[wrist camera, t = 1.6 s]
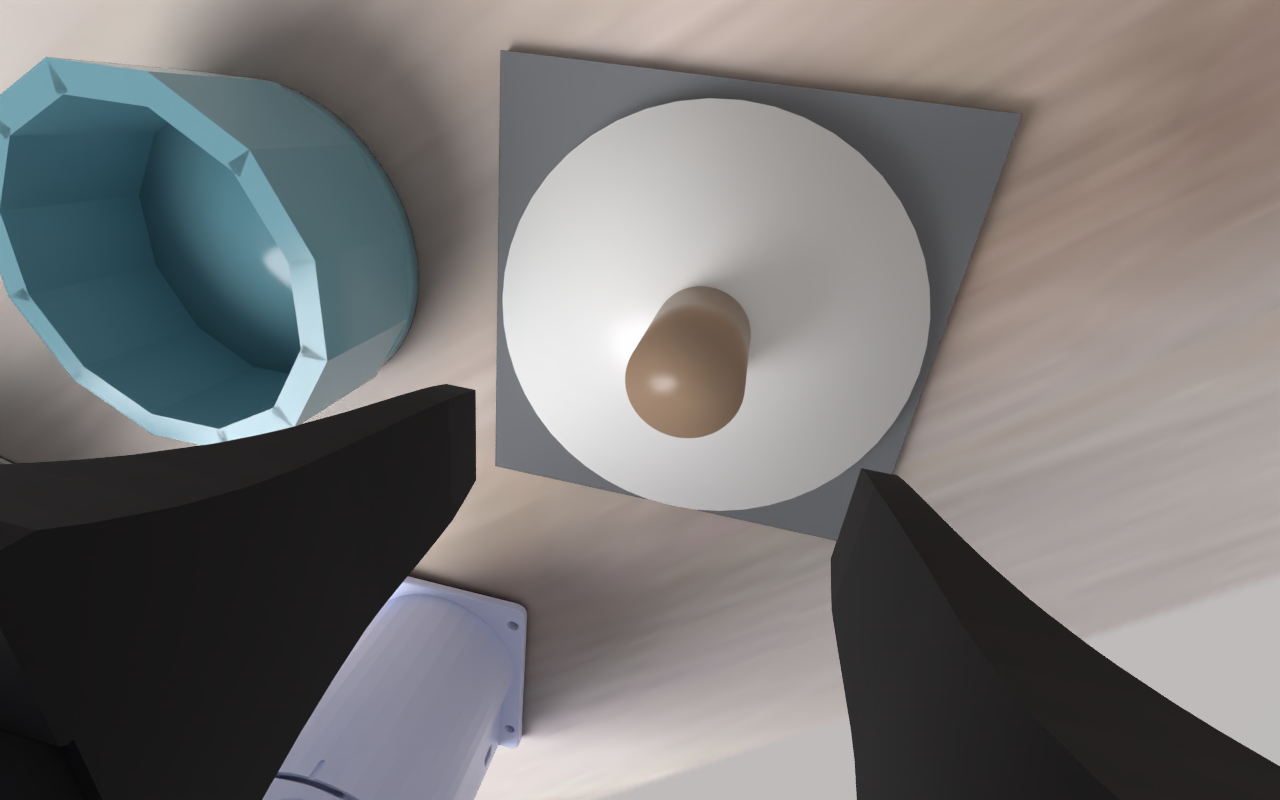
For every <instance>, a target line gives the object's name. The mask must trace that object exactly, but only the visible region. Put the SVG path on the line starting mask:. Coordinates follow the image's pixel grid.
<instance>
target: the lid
mask: <svg viewBox="0 0 1280 800" xmlns="http://www.w3.org/2000/svg"><path fill="white" fill-rule="evenodd" d="M502 300H503V321H504V329H505V335H506V340H507V346H508V350H509V354H510V357H511V360H512V363H513V367H514V370H515V373H516V375H517V377H518V380H519V382H520V384H521V386H522V389H523V391H524V393H525V395H526V397H527V399H528V400H529V402H530V404H531V405H532V407H533V409H534V410H535V412H536V414H537V415H538V417H539V418H540V419H541V421H542V422H543V423H544V425H545V426H546V427H547V429H548V430H549V431H550V433H551V434H552V435H553V436H554V437H555V438H556V439H557V440H558V441H559V442H560V443H561V444H562V446H563V447H564V448H565V449H566V450H567V451H568V452H569V453H571V454H572V455H573V456H574V457H575V458H577V459H578V460H579V461H580V462H581V463H582V464H584V465H585V466H586V467H588V468H589V469H590V470H592V471H593V472H595V473H596V474H598V475H599V476H601V477H602V478H604V479H605V480H607V481H609V482H611V483H613V484H615V485H617V486H619V487H620V488H622V489H624V490H626V491H629V492H631V493H634V494H636V495H639V496H641V497H644V498H646V499H649V500H653V501H656V502H660V503H663V504H667V505H671V506H676V507H682V508H688V509H694V510H711V511H727V510H744V509H750V508H756V507H762V506H768V505H772V504H775V503H779V502H782V501H786V500H789V499H792V498H795V497H797V496H800V495H802V494H804V493H807V492H809V491H811V490H814V489H816V488H818V487H820V486H821V485H823V484H825V483H827V482H828V481H830V480H832V479H834V478H835V477H837V476H839V475H840V474H841V473H843V472H844V471H845V470H847V469H848V468H850V467H851V466H852V465H854V464H855V463H856V462H858V461H859V460H860V459H861V458H862V457H863V456H864V455H865V454H866V453H867V452H868V451H869V450H870V449H871V448H872V447H874V446H875V445H876V444H877V443H878V441H879V440H880V439H881V438H882V436H883V435H884V434H885V433H886V432H887V430H888V429H889V428H890V427H891V425H892V424H893V423H894V421H895V420H896V418H897V417H898V415H899V413H900V412H901V410H902V408H903V407H904V405H905V403H906V402H907V400H908V398H909V396H910V394H911V391H912V389H913V387H914V385H915V382H916V380H917V378H918V375H919V373H920V369H921V365H922V362H923V358H924V355H925V351H926V347H927V341H928V333H929V325H930V287H929V281H928V275H927V269H926V263H925V258H924V255H923V252H922V249H921V246H920V243H919V240H918V237H917V234H916V231H915V229H914V227H913V225H912V223H911V221H910V219H909V217H908V215H907V213H906V211H905V209H904V207H903V205H902V203H901V201H900V200H899V199H898V197H897V196H896V194H895V193H894V192H893V190H892V189H891V187H890V186H889V185H888V183H887V182H886V180H885V179H884V178H883V176H882V175H881V174H880V173H879V172H878V171H877V170H876V169H875V168H874V167H873V166H872V165H871V164H870V163H869V162H868V161H867V160H866V159H865V158H864V157H863V156H862V155H861V154H860V153H859V152H858V151H857V150H855V149H854V148H853V147H851V146H850V145H849V144H847V143H846V142H845V141H843V140H842V139H841V138H839V137H838V136H837V135H835V134H834V133H832V132H830V131H829V130H827V129H825V128H823V127H821V126H819V125H818V124H816V123H814V122H812V121H810V120H808V119H807V118H805V117H802V116H799V115H796V114H793V113H791V112H788V111H785V110H782V109H780V108H777V107H774V106H769V105H765V104H760V103H755V102H750V101H745V100H734V99H716V98H706V99H695V100H684V101H676V102H672V103H668V104H663V105H659V106H655V107H651V108H647V109H644V110H642V111H639V112H637V113H634V114H632V115H629V116H627V117H624V118H622V119H619V120H617V121H615V122H614V123H612V124H610V125H609V126H607V127H605V128H603V129H602V130H600V131H598V132H597V133H595V134H593V135H591V136H590V137H589V138H588V139H586V140H585V141H584V142H583V143H581V144H580V145H579V146H577V147H576V148H575V149H574V150H572V151H571V152H570V153H569V154H568V155H567V156H566V157H565V158H564V159H563V160H562V161H561V162H560V163H559V164H558V165H557V166H556V167H555V168H554V169H553V170H552V171H551V172H550V173H549V175H548V176H547V177H546V179H545V180H544V181H543V183H542V184H541V186H540V187H539V188H538V190H537V191H536V193H535V194H534V195H533V197H532V198H531V200H530V202H529V204H528V206H527V208H526V210H525V212H524V214H523V216H522V218H521V219H520V221H519V224H518V227H517V229H516V232H515V235H514V238H513V241H512V243H511V246H510V250H509V254H508V259H507V264H506V268H505V273H504V286H503V298H502Z"/></svg>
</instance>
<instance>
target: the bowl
mask: <svg viewBox="0 0 1280 800" xmlns="http://www.w3.org/2000/svg"><path fill="white" fill-rule="evenodd" d="M0 274H1V277H2V279H3V282H4V285H5V288H6V290H7V293H8V296H9V298H10V299H11V300H12V302H13V303H14V304H15V306H16V307H17V308H18V309H19V311H20V312H21V313H22V314H23V316H24V317H25V318H26V320H27V321H28V322H29V323H30V325H31V326H32V327H33V329H34V330H35V331H36V332H37V334H38V335H39V336H40V338H41V339H42V340H43V341H44V343H45V344H46V345H47V346H48V348H49V349H50V350H51V352H52V353H53V354H54V355H55V357H56V358H57V359H58V361H59V362H60V363H61V364H62V366H63V367H64V368H65V370H66V371H67V372H68V373H69V375H70V376H71V377H72V379H73V380H75V381H76V382H77V383H79V384H80V385H82V386H83V387H85V388H86V389H88V390H89V391H90V392H92V393H93V394H95V395H96V396H98V397H99V398H100V399H102V400H103V401H105V402H106V403H108V404H109V405H111V406H112V407H113V408H115V409H116V410H118V411H119V412H121V413H122V414H124V415H125V416H126V417H128V418H129V419H131V420H132V421H134V422H135V423H137V424H138V425H139V426H141V427H142V428H144V429H145V430H147V431H148V432H150V433H151V434H154V435H158V436H162V437H167V438H171V439H175V440H180V441H184V442H188V443H193V444H197V445H208V444H213V443H219V442H225V441H230V440H235V439H240V438H245V437H250V436H255V435H260V434H264V433H269V432H273V431H278V430H282V429H286V428H290V427H294V426H297V425H300V424H301V423H303V422H304V421H306V420H308V419H309V418H311V417H312V416H314V415H316V414H317V413H319V412H320V411H322V410H323V409H325V408H327V407H328V406H330V405H331V404H333V403H334V402H336V401H338V400H339V399H341V398H342V397H344V396H345V395H347V394H349V393H350V392H352V391H353V390H355V389H356V388H358V387H360V386H361V385H363V384H364V383H366V382H367V381H369V380H371V379H372V378H374V377H375V376H376V374H377V373H378V371H379V369H380V367H382V366H383V365H384V364H385V363H386V362H387V361H388V360H389V359H390V358H391V357H392V356H393V355H394V354H395V353H396V351H397V350H398V348H399V347H400V346H401V344H402V343H403V341H404V339H405V337H406V335H407V333H408V331H409V329H410V326H411V323H412V320H413V316H414V313H415V309H416V302H417V296H418V264H417V255H416V249H415V244H414V240H413V235H412V231H411V228H410V225H409V222H408V219H407V216H406V213H405V210H404V208H403V206H402V204H401V201H400V199H399V197H398V195H397V193H396V191H395V188H394V187H393V185H392V183H391V182H390V180H389V178H388V176H387V175H386V173H385V171H384V170H383V168H382V167H381V165H380V164H379V162H378V161H377V160H376V158H375V157H374V156H373V154H372V153H371V152H370V150H369V149H368V148H367V147H366V145H365V144H364V143H363V142H362V141H361V140H360V139H359V138H358V137H357V136H356V134H355V133H354V132H353V131H352V130H351V129H350V128H349V127H347V126H346V125H345V124H344V123H343V122H342V121H341V120H340V119H338V118H337V117H336V116H335V115H334V114H333V113H331V112H330V111H328V110H327V109H326V108H324V107H323V106H321V105H320V104H318V103H317V102H316V101H314V100H312V99H310V98H309V97H307V96H305V95H303V94H301V93H299V92H297V91H295V90H293V89H291V88H288V87H285V86H283V85H280V84H278V83H277V82H272V81H266V80H261V79H256V78H249V77H237V76H229V75H221V74H214V73H207V72H200V71H193V70H182V69H171V68H160V67H149V66H138V65H127V64H116V63H105V62H94V61H83V60H72V59H61V58H51V57H46V58H44V59H43V60H42V61H41V62H40V63H38V64H37V65H36V66H35V67H33V68H32V69H31V70H30V71H29V72H27V73H26V74H25V75H24V76H23V77H21V78H20V79H19V80H18V81H16V82H15V83H14V84H13V85H12V86H10V87H9V88H8V89H7V90H6V91H4V92H3V93H2V94H1V95H0Z"/></svg>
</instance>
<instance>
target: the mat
mask: <svg viewBox="0 0 1280 800" xmlns="http://www.w3.org/2000/svg"><path fill="white" fill-rule="evenodd" d="M706 98H716V99H734V100H745V101H750V102H755V103H760V104H765V105H769V106H774V107H777V108H780V109H782V110H785V111H788V112H791V113H793V114H796V115H799V116H802V117H805V118H807V119H808V120H810V121H812V122H814V123H816V124H818V125H819V126H821V127H823V128H825V129H827V130H829V131H830V132H832V133H834V134H835V135H837V136H838V137H839V138H841V139H842V140H843V141H845V142H846V143H847V144H849V145H850V146H851V147H853V148H854V149H855V150H857V151H858V152H859V153H860V154H861V155H862V156H863V157H864V158H865V159H866V160H867V161H868V162H869V163H870V164H871V165H872V166H873V167H874V168H875V169H876V170H877V171H878V172H879V173H880V174H881V175H882V176H883V178H884V179H885V180H886V182H887V183H888V185H889V186H890V187H891V189H892V190H893V192H894V193H895V194H896V196H897V197H898V199H899V200H900V201H901V203H902V205H903V207H904V209H905V211H906V213H907V215H908V217H909V219H910V221H911V223H912V225H913V227H914V229H915V231H916V234H917V237H918V240H919V243H920V246H921V249H922V252H923V255H924V258H925V263H926V269H927V275H928V281H929V287H930V325H929V333H928V341H927V347H926V351H925V355H924V358H923V362H922V365H921V369H920V373H919V375H918V378H917V380H916V382H915V385H914V387H913V389H912V391H911V394H910V396H909V398H908V400H907V402H906V403H905V405H904V407H903V408H902V410H901V412H900V413H899V415H898V417H897V418H896V420H895V421H894V423H893V424H892V425H891V427H890V428H889V429H888V430H887V432H886V433H885V434H884V435H883V436H882V438H881V439H880V440H879V441H878V443H877V444H876V445H875V446H874V447H872V448H871V449H870V450H869V451H868V452H867V453H866V454H865V455H864V456H863V457H862V458H861V459H860V460H859V461H858V462H856V463H855V464H854V465H852V466H851V467H850V468H848V469H847V470H845V471H844V472H843V473H841V474H840V475H839V476H837V477H835V478H834V479H832V480H830V481H828V482H827V483H825V484H823V485H821V486H820V487H818V488H816V489H814V490H811V491H809V492H807V493H804V494H802V495H800V496H797V497H795V498H792V499H789V500H786V501H782V502H779V503H775V504H772V505H768V506H762V507H756V508H750V509H744V510H727V511H711V510H699V511H703V512H708V513H713V514H717V515H722V516H726V517H731V518H735V519H740V520H745V521H749V522H754V523H758V524H763V525H767V526H772V527H777V528H781V529H786V530H790V531H795V532H799V533H804V534H809V535H813V536H818V537H822V538H827V539H831V540H836V541H837V539H838V536H839V533H840V530H841V527H842V524H843V521H844V518H845V515H846V512H847V509H848V506H849V503H850V500H851V497H852V494H853V491H854V488H855V485H856V482H857V479H858V476H859V473H860V470H861V468H863V469H868V470H873V471H878V472H883V473H888V474H892V472H893V470H894V467H895V464H896V461H897V459H898V456H899V453H900V450H901V448H902V445H903V442H904V439H905V437H906V434H907V431H908V428H909V426H910V423H911V420H912V417H913V415H914V412H915V409H916V406H917V404H918V401H919V398H920V395H921V393H922V390H923V387H924V384H925V381H926V379H927V376H928V373H929V370H930V368H931V365H932V362H933V359H934V357H935V354H936V351H937V348H938V346H939V343H940V340H941V337H942V335H943V332H944V329H945V326H946V324H947V321H948V318H949V315H950V313H951V310H952V307H953V304H954V302H955V299H956V296H957V293H958V290H959V288H960V285H961V282H962V279H963V277H964V274H965V271H966V268H967V266H968V263H969V260H970V257H971V255H972V252H973V249H974V246H975V244H976V241H977V238H978V235H979V233H980V230H981V227H982V224H983V222H984V219H985V216H986V213H987V210H988V208H989V205H990V202H991V199H992V197H993V194H994V191H995V188H996V186H997V183H998V180H999V177H1000V175H1001V172H1002V169H1003V166H1004V164H1005V161H1006V158H1007V155H1008V153H1009V150H1010V147H1011V144H1012V142H1013V139H1014V136H1015V133H1016V131H1017V128H1018V125H1019V122H1020V119H1021V117H1022V114H1018V113H1010V112H1001V111H993V110H985V109H977V108H969V107H961V106H953V105H945V104H936V103H928V102H920V101H912V100H904V99H896V98H888V97H879V96H871V95H863V94H855V93H847V92H839V91H831V90H823V89H814V88H806V87H798V86H790V85H782V84H774V83H766V82H757V81H749V80H741V79H733V78H725V77H717V76H709V75H701V74H692V73H684V72H676V71H668V70H660V69H652V68H644V67H636V66H627V65H619V64H611V63H603V62H595V61H587V60H579V59H570V58H562V57H554V56H546V55H538V54H530V53H522V52H514V51H505V50H501V63H500V142H499V222H498V302H497V381H496V461H495V466H498V467H502V468H507V469H511V470H516V471H521V472H525V473H530V474H534V475H539V476H543V477H548V478H553V479H557V480H562V481H566V482H571V483H575V484H580V485H585V486H589V487H594V488H598V489H603V490H607V491H612V492H617V493H621V494H626V495H630V496H635V497H639V498H644V497H641V496H639V495H636V494H634V493H631V492H629V491H626V490H624V489H622V488H620V487H619V486H617V485H615V484H613V483H611V482H609V481H607V480H605V479H604V478H602V477H601V476H599V475H598V474H596V473H595V472H593V471H592V470H590V469H589V468H588V467H586V466H585V465H584V464H582V463H581V462H580V461H579V460H578V459H577V458H575V457H574V456H573V455H572V454H571V453H569V452H568V451H567V450H566V449H565V448H564V447H563V446H562V444H561V443H560V442H559V441H558V440H557V439H556V438H555V437H554V436H553V435H552V434H551V433H550V431H549V430H548V429H547V427H546V426H545V425H544V423H543V422H542V421H541V419H540V418H539V417H538V415H537V414H536V412H535V410H534V409H533V407H532V405H531V404H530V402H529V400H528V399H527V397H526V395H525V393H524V391H523V389H522V386H521V384H520V382H519V380H518V377H517V375H516V373H515V370H514V367H513V363H512V360H511V357H510V354H509V350H508V346H507V340H506V335H505V329H504V321H503V300H502V298H503V286H504V273H505V268H506V264H507V259H508V254H509V250H510V246H511V243H512V241H513V238H514V235H515V232H516V229H517V227H518V224H519V221H520V219H521V218H522V216H523V214H524V212H525V210H526V208H527V206H528V204H529V202H530V200H531V198H532V197H533V195H534V194H535V193H536V191H537V190H538V188H539V187H540V186H541V184H542V183H543V181H544V180H545V179H546V177H547V176H548V175H549V173H550V172H551V171H552V170H553V169H554V168H555V167H556V166H557V165H558V164H559V163H560V162H561V161H562V160H563V159H564V158H565V157H566V156H567V155H568V154H569V153H570V152H571V151H572V150H574V149H575V148H576V147H577V146H579V145H580V144H581V143H583V142H584V141H585V140H586V139H588V138H589V137H590V136H591V135H593V134H595V133H597V132H598V131H600V130H602V129H603V128H605V127H607V126H609V125H610V124H612V123H614V122H615V121H617V120H619V119H622V118H624V117H627V116H629V115H632V114H634V113H637V112H639V111H642V110H644V109H647V108H651V107H655V106H659V105H663V104H668V103H672V102H676V101H684V100H695V99H706ZM644 499H646V498H644Z"/></svg>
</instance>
